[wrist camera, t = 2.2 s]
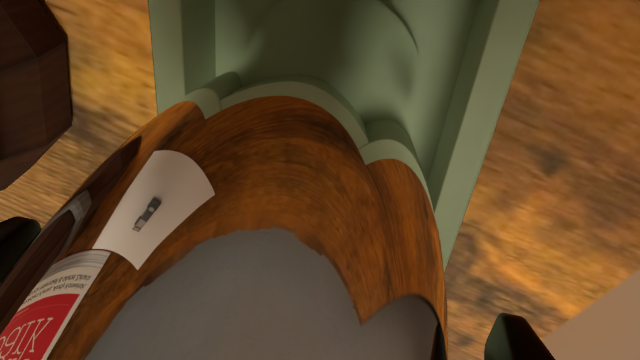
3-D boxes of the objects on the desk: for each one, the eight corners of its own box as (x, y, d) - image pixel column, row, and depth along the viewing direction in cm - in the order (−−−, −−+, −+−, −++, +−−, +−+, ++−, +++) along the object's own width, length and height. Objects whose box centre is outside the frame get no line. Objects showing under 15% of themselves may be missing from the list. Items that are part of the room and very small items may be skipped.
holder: (531, -70, 15) (557, -47, 12) (398, 350, 27) (395, 413, 24) (188, -120, 16) (137, -109, 13) (203, 310, 27) (178, 366, 24)
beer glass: (207, 97, 19) (-156, 551, 7) (292, -78, 16) (-184, 259, 3) (362, 186, 21) (278, 709, 8) (476, 44, 17) (634, 629, 4)
